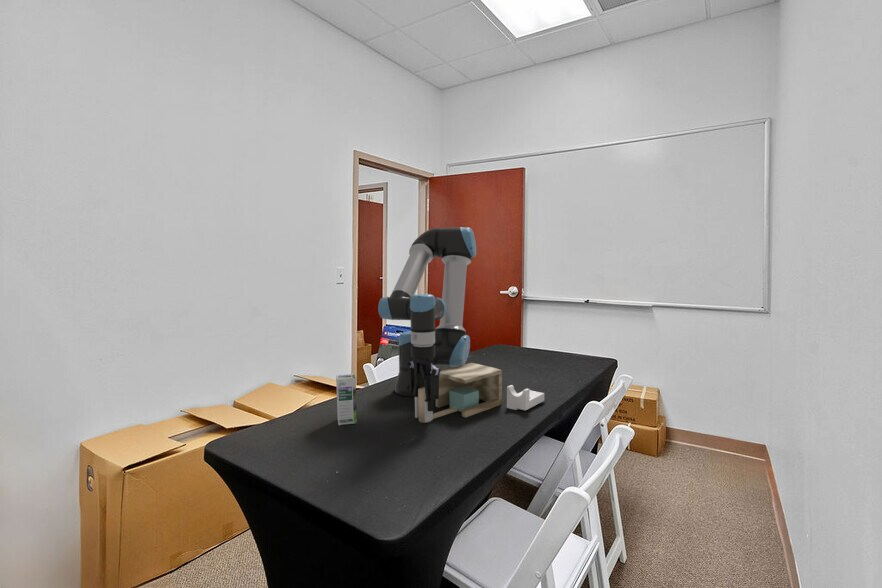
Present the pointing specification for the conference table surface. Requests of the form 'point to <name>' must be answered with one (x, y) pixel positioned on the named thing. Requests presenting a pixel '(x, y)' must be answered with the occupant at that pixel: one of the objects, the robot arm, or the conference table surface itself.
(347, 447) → the conference table surface
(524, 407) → the bracket
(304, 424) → the conference table surface
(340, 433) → the conference table surface
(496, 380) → the wooden frame
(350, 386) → the syrup box
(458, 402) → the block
